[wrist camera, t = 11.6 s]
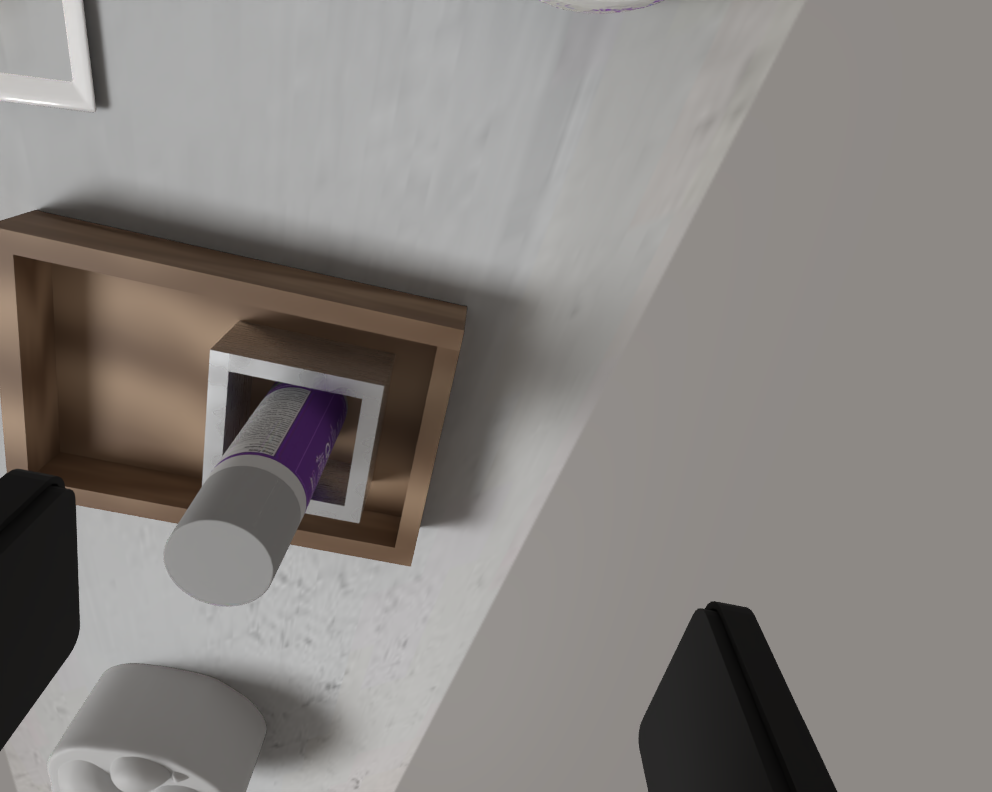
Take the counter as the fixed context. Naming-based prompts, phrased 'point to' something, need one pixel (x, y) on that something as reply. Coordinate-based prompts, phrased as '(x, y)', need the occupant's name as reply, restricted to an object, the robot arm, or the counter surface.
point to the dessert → (56, 91)
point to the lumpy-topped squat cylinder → (158, 735)
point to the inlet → (304, 366)
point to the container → (255, 497)
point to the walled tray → (197, 370)
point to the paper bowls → (601, 5)
